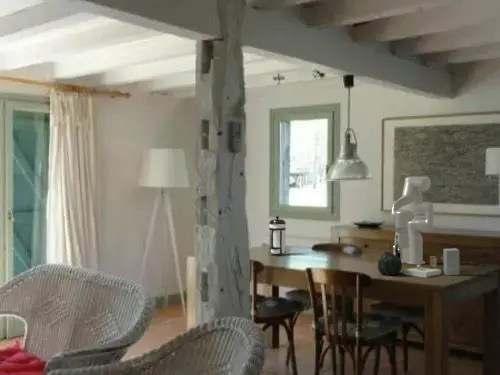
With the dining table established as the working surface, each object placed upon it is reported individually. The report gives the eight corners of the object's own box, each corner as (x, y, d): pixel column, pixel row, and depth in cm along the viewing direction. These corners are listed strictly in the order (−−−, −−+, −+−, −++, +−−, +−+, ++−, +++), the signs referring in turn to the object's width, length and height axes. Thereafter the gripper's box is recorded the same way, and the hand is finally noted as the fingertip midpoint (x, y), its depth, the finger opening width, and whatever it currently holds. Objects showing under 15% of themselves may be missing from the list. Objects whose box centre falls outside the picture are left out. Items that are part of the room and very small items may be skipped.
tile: (409, 270, 408) (409, 264, 408) (417, 268, 414) (417, 263, 414) (421, 271, 401) (421, 266, 401) (429, 270, 407) (429, 265, 407)
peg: (428, 272, 399) (428, 256, 398) (432, 271, 401) (432, 255, 401) (434, 273, 396) (434, 257, 395) (437, 272, 398) (437, 256, 398)
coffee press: (264, 254, 492) (263, 215, 491) (283, 253, 497) (283, 215, 496) (271, 256, 475) (271, 217, 475) (291, 256, 480) (291, 216, 479)
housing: (393, 261, 403) (393, 247, 403) (400, 260, 408) (400, 246, 407) (402, 262, 398) (402, 248, 398) (409, 261, 402) (409, 247, 402)
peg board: (403, 274, 391) (403, 269, 391) (418, 271, 402) (418, 266, 402) (426, 277, 379) (426, 272, 379) (441, 274, 390) (441, 269, 390)
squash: (410, 265, 391) (395, 246, 397) (398, 269, 380) (383, 249, 386) (395, 279, 398) (380, 260, 404) (383, 283, 387) (368, 263, 393)
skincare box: (456, 273, 394) (456, 248, 393) (460, 275, 387) (460, 249, 386) (442, 273, 394) (442, 248, 393) (446, 275, 386) (446, 249, 386)
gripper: (398, 231, 394) (398, 260, 394) (414, 230, 405) (414, 258, 406) (388, 230, 400) (388, 259, 400) (404, 229, 411) (404, 256, 411)
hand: (401, 258), depth 403 cm, fingers closed on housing, 7 cm apart
